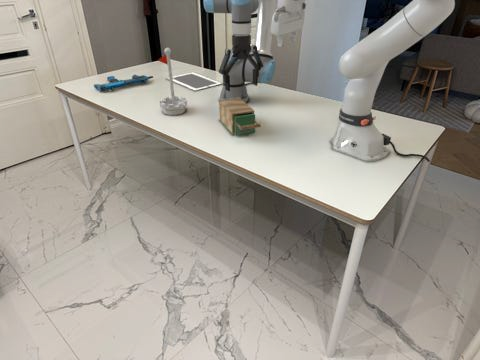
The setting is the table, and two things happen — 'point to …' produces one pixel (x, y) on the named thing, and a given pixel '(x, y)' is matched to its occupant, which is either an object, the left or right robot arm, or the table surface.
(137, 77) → the submachine gun
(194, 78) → the tablet
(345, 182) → the table surface
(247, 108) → the tan storage bin
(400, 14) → the right robot arm
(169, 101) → the flag stand
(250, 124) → the drawer
